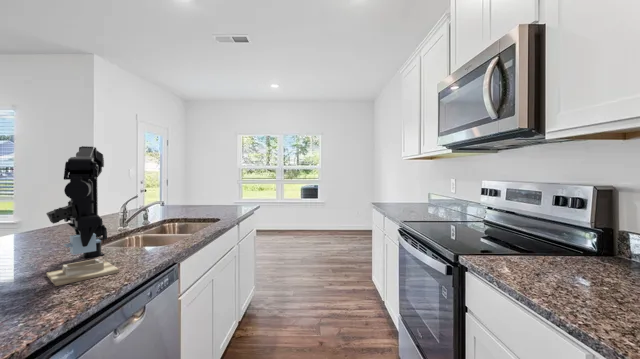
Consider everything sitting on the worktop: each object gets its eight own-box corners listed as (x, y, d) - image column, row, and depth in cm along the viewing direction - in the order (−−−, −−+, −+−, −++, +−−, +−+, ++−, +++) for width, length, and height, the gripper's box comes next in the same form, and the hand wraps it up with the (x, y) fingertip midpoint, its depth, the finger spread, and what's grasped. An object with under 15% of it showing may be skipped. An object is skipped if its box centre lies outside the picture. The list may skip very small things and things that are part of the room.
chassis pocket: (46, 275, 97) (46, 265, 96) (105, 263, 109) (105, 254, 109) (55, 286, 88) (55, 274, 87) (119, 272, 100) (119, 262, 100)
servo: (64, 253, 96) (63, 236, 96) (98, 247, 103) (97, 231, 103) (66, 255, 93) (66, 238, 93) (101, 249, 100) (101, 233, 100)
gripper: (43, 197, 97) (44, 245, 98) (55, 201, 85) (56, 256, 86) (86, 195, 106) (86, 239, 106) (102, 198, 94) (103, 248, 94)
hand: (83, 245), depth 98 cm, fingers closed on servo, 4 cm apart
